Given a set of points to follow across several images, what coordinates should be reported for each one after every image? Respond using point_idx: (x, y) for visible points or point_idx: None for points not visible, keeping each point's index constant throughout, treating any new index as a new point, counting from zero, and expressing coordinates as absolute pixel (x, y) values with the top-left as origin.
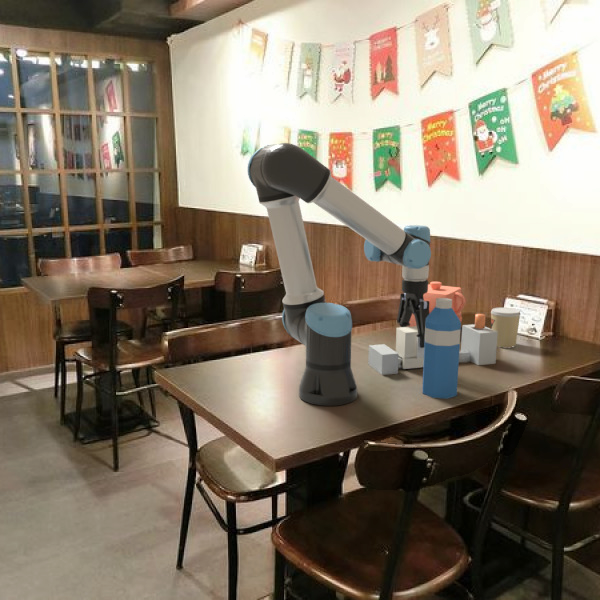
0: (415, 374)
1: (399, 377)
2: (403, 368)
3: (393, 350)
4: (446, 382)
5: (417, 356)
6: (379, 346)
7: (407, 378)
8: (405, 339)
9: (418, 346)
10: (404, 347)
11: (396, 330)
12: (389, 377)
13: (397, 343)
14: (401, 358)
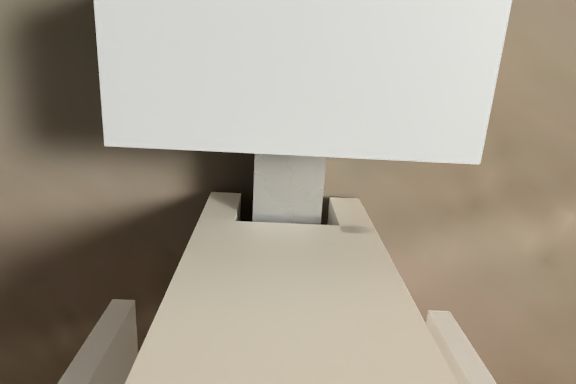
0: (111, 219)
1: (73, 82)
2: (221, 192)
3: (224, 149)
4: None
5: (108, 310)
6: (421, 70)
7: (41, 127)
8: (152, 327)
9: (66, 380)
10: (185, 268)
11: (448, 370)
12: (88, 6)
13: (363, 273)
14: (259, 218)
